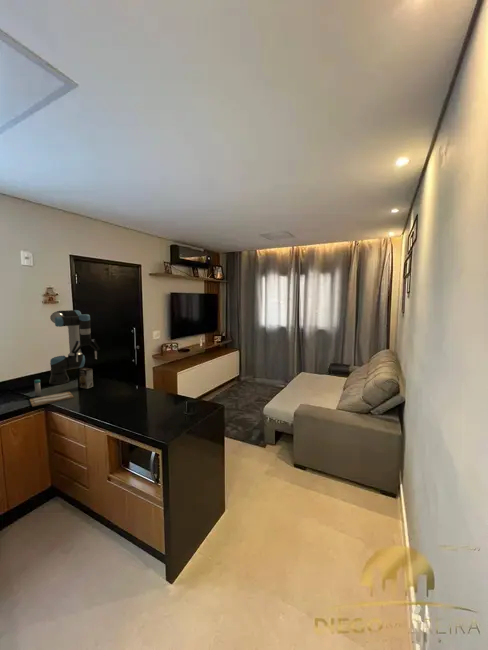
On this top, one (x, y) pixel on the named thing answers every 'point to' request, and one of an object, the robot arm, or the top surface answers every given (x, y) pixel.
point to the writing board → (51, 398)
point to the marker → (37, 388)
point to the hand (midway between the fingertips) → (86, 360)
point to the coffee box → (86, 378)
